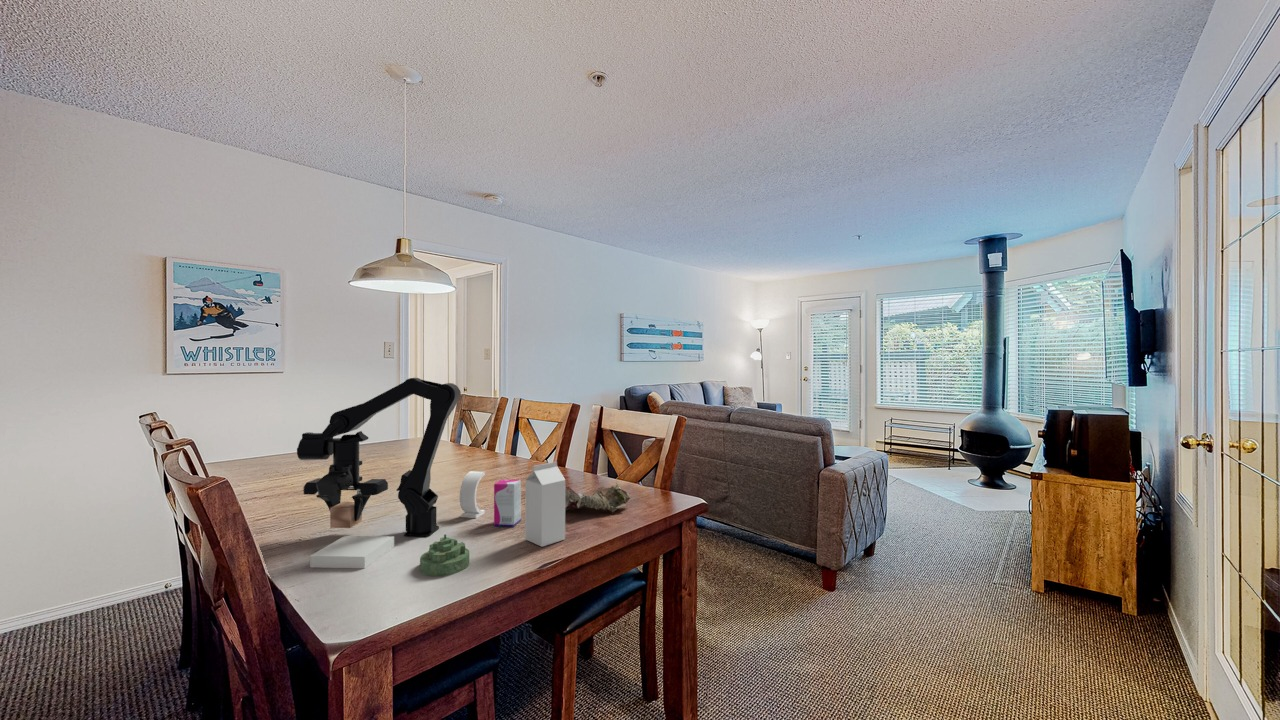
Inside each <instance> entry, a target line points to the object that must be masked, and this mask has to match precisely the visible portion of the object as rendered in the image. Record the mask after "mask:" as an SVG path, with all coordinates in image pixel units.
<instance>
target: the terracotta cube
mask: <svg viewBox="0 0 1280 720" xmlns="http://www.w3.org/2000/svg"><path fill="white" fill-rule="evenodd" d="M329 512H330V517H329V521H330V522H329V523H330V524H329V526H330V527H329V528H330V529H351V528H353V527H355V526H356V525H358V524H360V523H361V522H363V512H362V513H361V516H360V518H359V520H357V521H355V518H354V501H342V502H340V504H337V505H335V506H333V507H331V508H330V510H329Z"/></svg>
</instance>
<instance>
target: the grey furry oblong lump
mask: <svg viewBox="0 0 1280 720" xmlns="http://www.w3.org/2000/svg"><path fill="white" fill-rule="evenodd" d="M631 499H632V495H629V493H628V492H627V491H626V490H623V489H622V488H621V487H620V486H619V484H618V483H617V482H616V483H615V486H613V485H611V487H605V486H600V487H599V488H598V489H596V491H595V492H594V493H593V494H592V495H589V494H588V495H587V493H586V492H585V493H578V492H576V491H574V490H573V489H572V488H571V487H570V486H569V487H568V486H565V512H566V511H568V510H569V509H571V508H573V507H574V508H576V509H577V510H580V509H581V508H582V507H584V506H586V507H587V508H591V509H595V510H596V511H597V510H600V509H602V510H607V511H609V512H611V513H612V514H614V513H615V511H617V510H618V509H620V508H621V507H625V506H627V503H628V502H629V500H631Z"/></svg>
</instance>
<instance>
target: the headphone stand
mask: <svg viewBox="0 0 1280 720" xmlns="http://www.w3.org/2000/svg"><path fill="white" fill-rule="evenodd" d="M485 475H486V471H477V470H476V471H475V470H470V471H468V472H467V474H465V476H464V478H463V480H462V482H461V485H460V488H459V489H460V490H459V504H460V508H461V510H462V511H463V513H462V514H461V518H467V519H477V518H479V517H481V516H482V515H484V514H486V510H485V509H480V508H479V506H478V504H477V492H478V491H477V489H478V486H479V483H480V481H481V479H482V478H483V477H484V476H485Z"/></svg>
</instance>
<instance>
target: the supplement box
mask: <svg viewBox="0 0 1280 720" xmlns="http://www.w3.org/2000/svg"><path fill="white" fill-rule="evenodd" d="M521 485H522V480H521V479H505V478H504V479H501V480H498V481H497V482H495V483H494V484H493V488H494V489H493V526H494V527H506V528H507V527H509V528H510V527H511V528H513V527H515V526H517V524H519V523H520V521H522V486H521Z"/></svg>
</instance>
